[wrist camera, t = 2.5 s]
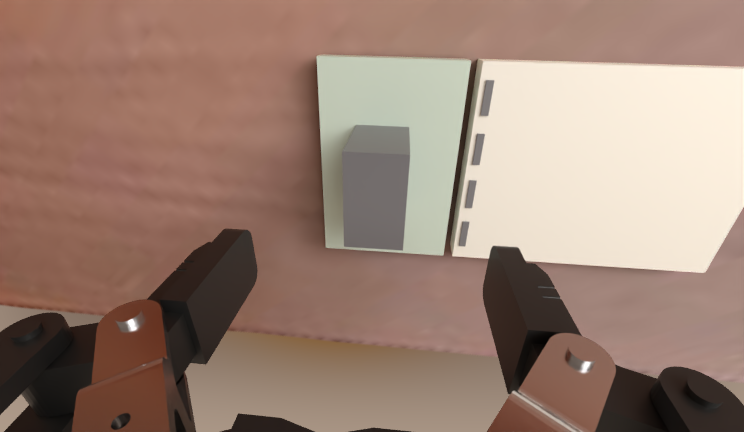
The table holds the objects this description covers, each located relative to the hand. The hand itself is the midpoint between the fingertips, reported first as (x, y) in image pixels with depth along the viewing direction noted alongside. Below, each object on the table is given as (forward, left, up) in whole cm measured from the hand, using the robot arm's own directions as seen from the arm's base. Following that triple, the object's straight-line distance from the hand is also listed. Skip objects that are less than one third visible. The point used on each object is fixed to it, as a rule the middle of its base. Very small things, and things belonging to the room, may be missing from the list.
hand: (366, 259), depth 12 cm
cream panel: (+8, -10, -12) cm, 17 cm away
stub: (0, 0, -12) cm, 11 cm away
